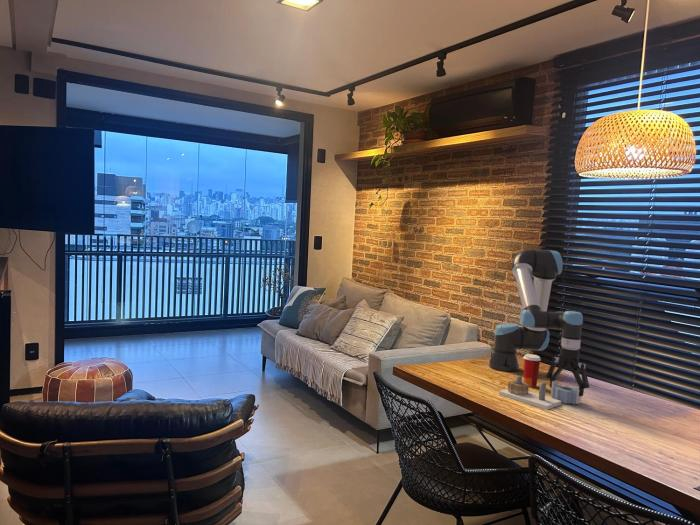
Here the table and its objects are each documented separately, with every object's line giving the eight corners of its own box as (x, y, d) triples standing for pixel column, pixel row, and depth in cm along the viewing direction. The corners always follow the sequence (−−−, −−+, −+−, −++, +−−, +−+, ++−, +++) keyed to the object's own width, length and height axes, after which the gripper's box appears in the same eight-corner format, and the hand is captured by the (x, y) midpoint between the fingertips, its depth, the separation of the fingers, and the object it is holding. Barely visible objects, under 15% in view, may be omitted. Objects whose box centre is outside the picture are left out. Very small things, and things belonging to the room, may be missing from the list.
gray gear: (559, 394, 225) (560, 383, 225) (582, 401, 217) (583, 389, 217) (548, 398, 218) (549, 387, 218) (571, 405, 210) (572, 393, 210)
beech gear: (514, 388, 227) (515, 379, 226) (531, 393, 221) (532, 384, 220) (504, 391, 221) (505, 382, 221) (521, 396, 215) (522, 387, 215)
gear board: (513, 390, 229) (515, 371, 229) (561, 404, 213) (562, 384, 212) (498, 394, 221) (500, 375, 221) (546, 409, 205) (548, 388, 204)
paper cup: (536, 383, 242) (538, 354, 241) (540, 388, 234) (543, 358, 233) (519, 382, 243) (521, 353, 242) (523, 387, 235) (525, 357, 234)
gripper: (540, 343, 222) (536, 393, 224) (593, 355, 205) (588, 409, 207) (548, 341, 227) (544, 390, 229) (601, 353, 210) (596, 405, 212)
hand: (565, 399), depth 218 cm, fingers closed on gray gear, 10 cm apart
